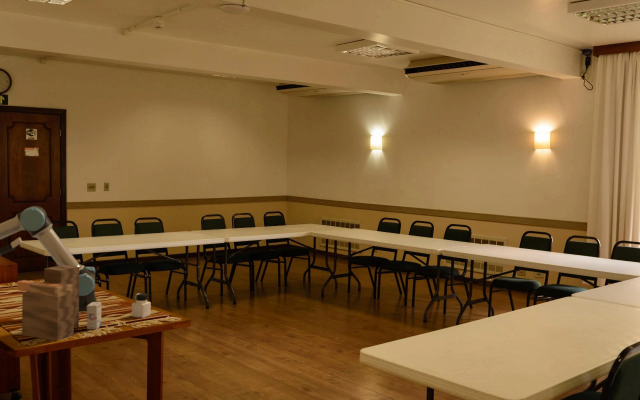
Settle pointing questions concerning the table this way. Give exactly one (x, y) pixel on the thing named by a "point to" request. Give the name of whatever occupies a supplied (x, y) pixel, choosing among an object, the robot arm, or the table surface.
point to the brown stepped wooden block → (52, 305)
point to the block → (25, 284)
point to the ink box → (94, 315)
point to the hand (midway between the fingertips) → (9, 241)
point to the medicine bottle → (141, 306)
